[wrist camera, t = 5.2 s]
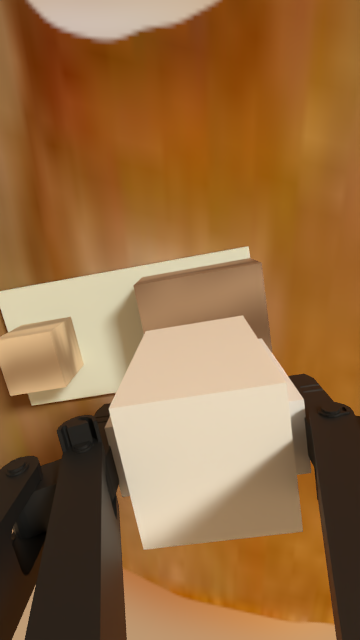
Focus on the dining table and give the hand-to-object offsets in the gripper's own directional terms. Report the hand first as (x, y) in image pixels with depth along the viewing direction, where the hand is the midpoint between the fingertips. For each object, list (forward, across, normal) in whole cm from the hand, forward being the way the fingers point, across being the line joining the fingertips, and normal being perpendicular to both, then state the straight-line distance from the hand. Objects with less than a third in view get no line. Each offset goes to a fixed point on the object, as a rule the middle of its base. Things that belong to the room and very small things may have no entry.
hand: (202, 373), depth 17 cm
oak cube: (+15, -14, -1) cm, 21 cm away
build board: (+16, -6, -1) cm, 17 cm away
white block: (0, 0, 0) cm, 0 cm away
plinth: (+15, 0, -1) cm, 15 cm away
